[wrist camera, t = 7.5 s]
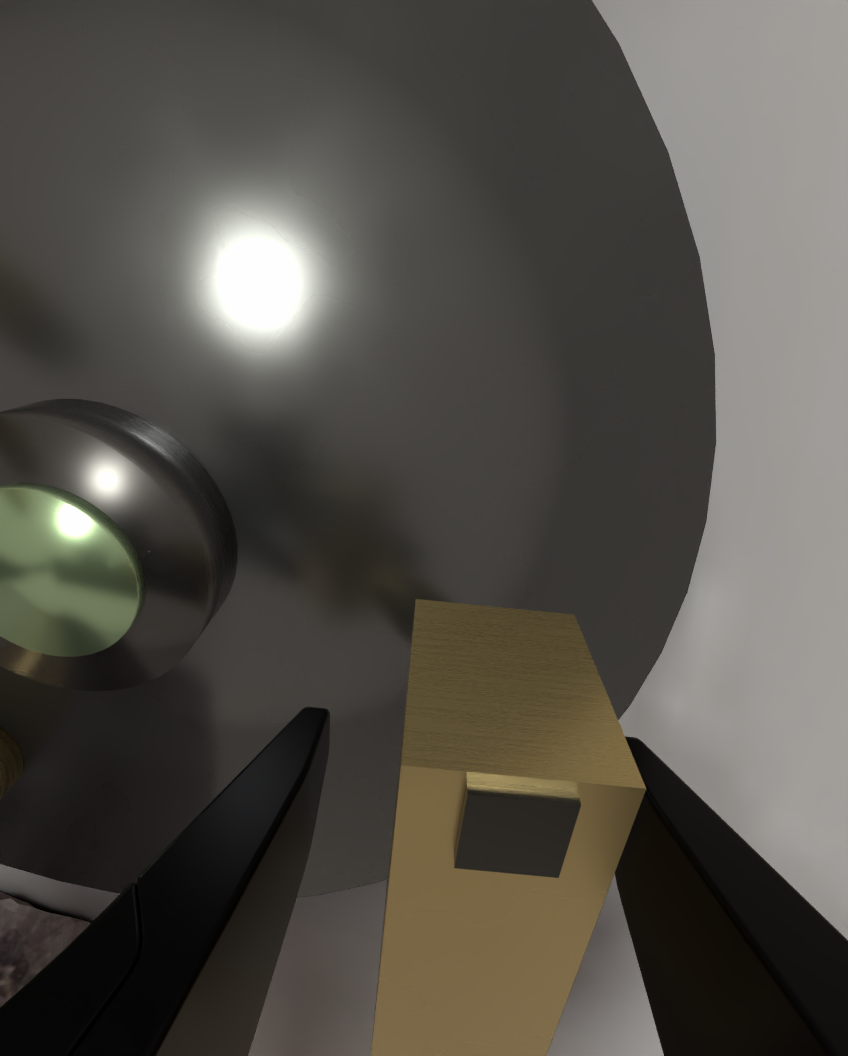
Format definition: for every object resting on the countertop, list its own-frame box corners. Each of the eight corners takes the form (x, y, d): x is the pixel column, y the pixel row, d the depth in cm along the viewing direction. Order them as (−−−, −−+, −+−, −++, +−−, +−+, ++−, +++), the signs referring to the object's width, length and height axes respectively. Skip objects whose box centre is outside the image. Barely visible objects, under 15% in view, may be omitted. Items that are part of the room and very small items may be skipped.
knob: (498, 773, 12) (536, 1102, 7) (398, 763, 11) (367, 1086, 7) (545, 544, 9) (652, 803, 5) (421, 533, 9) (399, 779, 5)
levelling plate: (558, 891, 15) (586, 1030, 12) (-191, 821, 15) (-341, 945, 12) (909, -221, 6) (1290, -644, 4) (-891, -421, 6) (-2039, -1039, 3)
